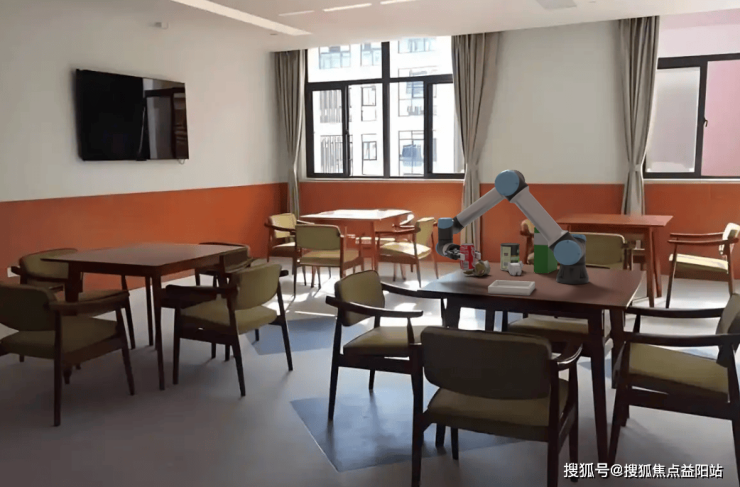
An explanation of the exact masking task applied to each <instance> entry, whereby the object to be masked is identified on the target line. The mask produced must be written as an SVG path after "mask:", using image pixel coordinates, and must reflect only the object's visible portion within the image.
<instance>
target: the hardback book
mask: <svg viewBox="0 0 740 487" xmlns="http://www.w3.org/2000/svg"><path fill="white" fill-rule="evenodd" d="M556 270H558V261H557V260H556V258H555V256H554V253H553V252H552V251H551V250H550V249H549V247H548V241H547V240H546V239H545V238H544V237H543V235H542V234H541V233H540V232H539V231H538V230H537V228H536V227H535V226H534V227H533V273H534V272H535V273H534V274H544V273H548V274H550V273H552V272H554V271H556ZM549 272H550V273H549Z"/></svg>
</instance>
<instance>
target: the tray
mask: <svg viewBox="0 0 740 487" xmlns="http://www.w3.org/2000/svg"><path fill="white" fill-rule="evenodd" d="M535 289H536V281H528V280H527V281H525V280H524V281H523V280H505V279H504V280H503V279H502V280H500V279H495V280H494V281H493V282H492V283H490V285H488V286H487V290H488V292H487V294H491V295H493V294H495V295H510V296H511V295H512V296H513V295H515V296H530V295H531V294H532V293H533V291H534V290H535Z"/></svg>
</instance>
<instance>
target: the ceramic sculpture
mask: <svg viewBox="0 0 740 487" xmlns="http://www.w3.org/2000/svg"><path fill="white" fill-rule="evenodd" d="M490 272H491V265H490V262H489V260H485V261H484V260H482V259H477V261H475V269H473V270H470V271H463V274H464V275H467V276H468V275H469V276H471V275H473V276H475V277H483V275H489V274H490Z"/></svg>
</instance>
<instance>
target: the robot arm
mask: <svg viewBox="0 0 740 487" xmlns="http://www.w3.org/2000/svg"><path fill="white" fill-rule="evenodd" d="M505 199H506V201H508V202H509V204H515V205H516V207H517V208H518V209H519V210H520V211H521V213H523V214H524V216H525V218H526V219H528V221H530V223H531V224H532V225H533V226H534V227H536V228H537V230H538V231H539V232H540V233H541V234H542V235H543V237H544V238H545V239H546V240H547V241H548V247H549V249H550V250H551V251H552V252H553V253H554V256H555V258H556V260H557V263H559V264H560V265H559V269H558V271H557V273H556V276H555V277H556V282H557V283H561V284H566V285H567V284H568V285H582V284H588V283H590V277H589V273H588V270H587V267H586V261H587V260H586V259H587V257H586V255H587V254H586V251H587V250H586V248H587V237H586V235H585V234H580V233H579V234H577V233H570V231H569V230H564V229H562V228H561V226H560V225H559V224H558V223H557V222H556V221H555V219H554V218H553V217H552V216H551V215H550V213H548V211H546V209H545V208H544V207H543V206H542V205H541V203H540V202H539V201H538V200H537V198H535V197H534V195H533V194H532V193H531V192H530V186H529V184H527V183H526V179H525V176H524V174H523V173H522V172H521V171H519V170H516V169H505V170H503V171H501V172H499V173H497V175H496V177H495V179H494V187H492V188H491V190H489V191H488V192H486V193H484V194H483V195H482V196H481V197H480V198H478V199H477V200H475V201H474V202H472V203H471V204H470V205H469V206H467V207H466V208H464V209H463V210H462V211H460V212H459V213H458V214H456V215H454V216H453V217H439V218H437V243H436V244H435V251H436V253H437V254H438V255H440V257H445V258H449V260H454V261H458V260H459V261H460V260H463V261H464V260H465V254H461V253H460V247H461V244H460V245H459V244H457V243H454V235H457V234H459V233H460V232H462V230H464V229H465V228H466V227H467V226H468V225H470V224H472V223H474V221H476V220H477V219H478V218H480V217H481V216H483V215H484V214H486V213H487V212H488V211H489V210H490V209H491V210H492V208H494V207H495V206H497V205H498V204H499V203H501V202H502V201H503V200H505ZM481 256H482V254H481V252H480V251H478V250H476V249H475V260H482V259H481Z"/></svg>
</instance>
